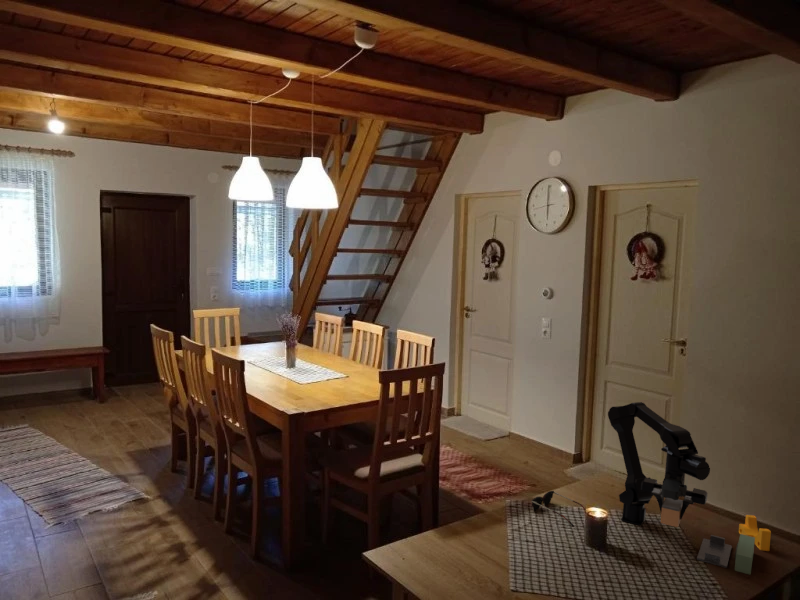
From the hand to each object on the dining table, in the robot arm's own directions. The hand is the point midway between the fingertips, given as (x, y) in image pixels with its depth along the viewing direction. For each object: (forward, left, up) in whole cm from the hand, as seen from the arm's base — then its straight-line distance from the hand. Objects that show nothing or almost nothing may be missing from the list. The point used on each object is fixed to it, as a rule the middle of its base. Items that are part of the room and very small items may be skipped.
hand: (671, 516), depth 195 cm
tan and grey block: (0, 0, -1) cm, 1 cm away
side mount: (+13, 0, -8) cm, 15 cm away
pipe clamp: (+22, +18, -8) cm, 30 cm away
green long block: (+21, 0, -8) cm, 22 cm away
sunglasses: (-35, -2, -9) cm, 36 cm away
